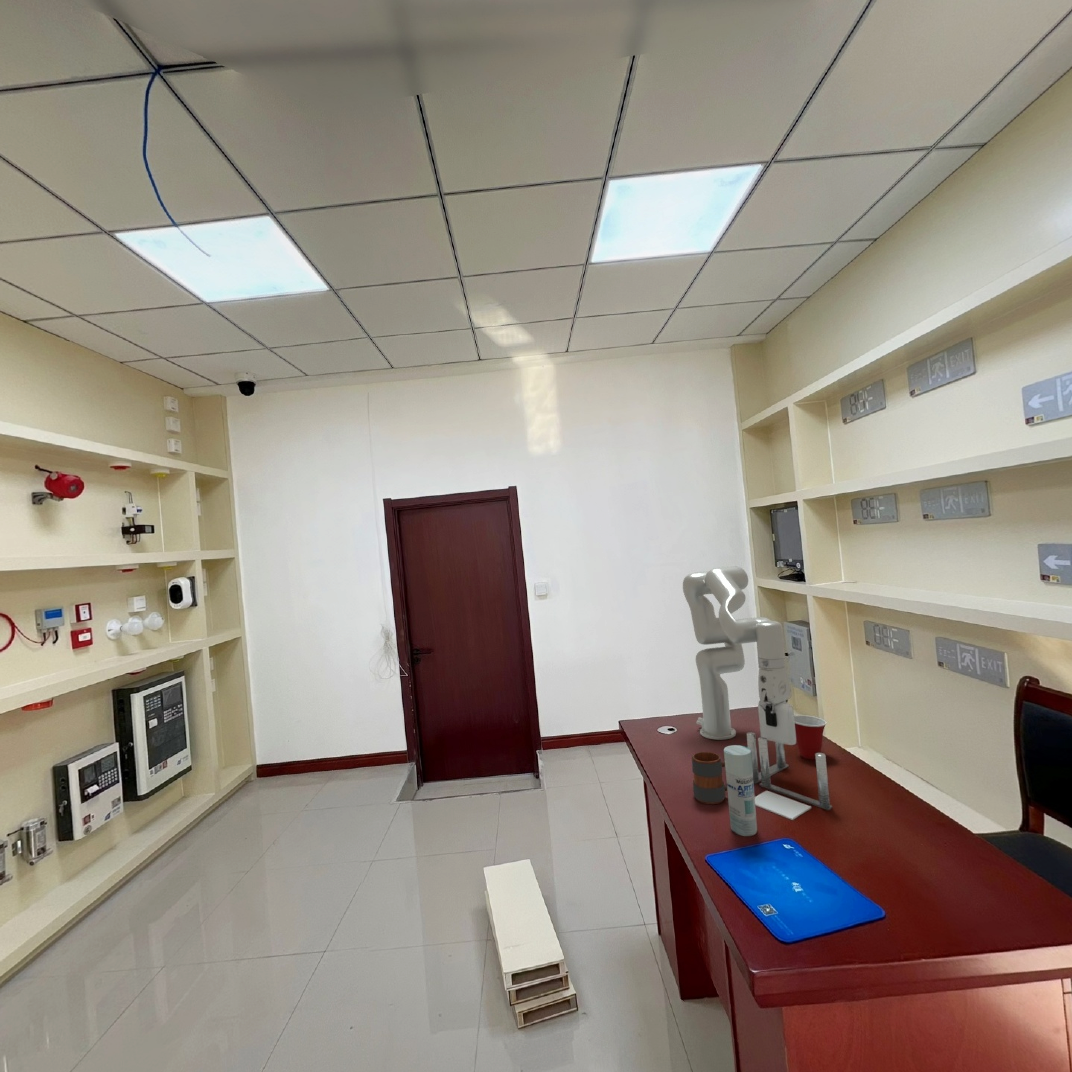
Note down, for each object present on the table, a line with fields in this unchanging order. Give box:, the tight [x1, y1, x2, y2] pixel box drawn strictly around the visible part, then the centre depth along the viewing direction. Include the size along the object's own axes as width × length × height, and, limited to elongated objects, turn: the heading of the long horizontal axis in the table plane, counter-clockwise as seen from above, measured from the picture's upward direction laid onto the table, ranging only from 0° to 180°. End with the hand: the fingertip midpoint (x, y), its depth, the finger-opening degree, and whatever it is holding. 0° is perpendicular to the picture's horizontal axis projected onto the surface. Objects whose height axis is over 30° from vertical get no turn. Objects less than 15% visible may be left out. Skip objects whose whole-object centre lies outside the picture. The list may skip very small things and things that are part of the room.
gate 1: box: [746, 731, 789, 784], centre depth 168 cm, size 3×17×14 cm, turn 124°
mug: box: [691, 751, 728, 805], centre depth 155 cm, size 9×12×12 cm
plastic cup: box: [794, 714, 827, 760], centre depth 178 cm, size 11×11×12 cm
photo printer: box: [757, 700, 797, 746], centre depth 164 cm, size 10×4×12 cm, turn 39°
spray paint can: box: [723, 744, 758, 837], centre depth 138 cm, size 6×6×20 cm
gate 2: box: [757, 736, 833, 811], centre depth 152 cm, size 20×2×14 cm, turn 34°
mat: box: [755, 790, 812, 821], centre depth 148 cm, size 13×9×1 cm
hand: (776, 722), depth 164 cm, fingers closed on photo printer, 4 cm apart
